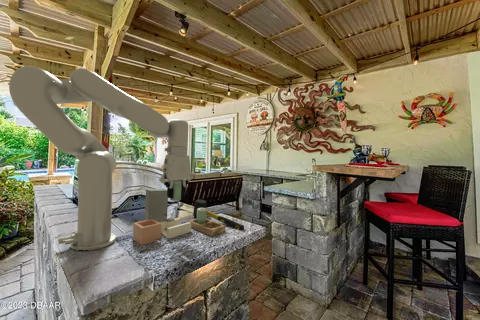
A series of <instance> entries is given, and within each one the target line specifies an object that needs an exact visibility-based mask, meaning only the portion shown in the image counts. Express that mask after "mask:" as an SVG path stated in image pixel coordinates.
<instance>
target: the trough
mask: <svg viewBox="0 0 480 320" xmlns="http://www.w3.org/2000/svg"><path fill="white" fill-rule="evenodd" d="M187 222H191V229H195V230H197V232H198V231H199V232H201V233H203V234H206V235H208V236H210V237H212V236H215V235H218V234H220V233H222V232H225V231H226V226H227V224H224V223H221V222H218V221H217V222H216V221H215V220H212V219H209V218H206V223H203V224H198V223H196V222H197V219H195V218H193V219H190V220H188V221H187Z"/></svg>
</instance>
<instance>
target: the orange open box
mask: <svg viewBox="0 0 480 320" xmlns="http://www.w3.org/2000/svg"><path fill="white" fill-rule="evenodd" d="M132 226H133V227H132V240H134V241H135V242H136V243H137V244H139V245H140V246H143V245H147V244H150V243H153V242H156V241H159V239H160V238H161V236H162V235H161V223H159V222H157V221H155V220H153V219H150V220H145V221H144V220H141V221H137V222H133V225H132Z"/></svg>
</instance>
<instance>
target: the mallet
mask: <svg viewBox="0 0 480 320" xmlns="http://www.w3.org/2000/svg"><path fill="white" fill-rule="evenodd" d="M207 203H208V202H207V201H206V200H205V199H196V200H195V202H194V205H193V213H192V217H193V216H194V218H193V219H197V209H198V208H205V209H206V216H209V217H211V218H213V219H215V220H217V222H219V223H221V224H223V225H226V226H228V227H231V228H234V229H236V230H238V231H239V230H240V231H243V230H244V229H245V225H244V224H241V223H239V222H236V221H234V220H231V219H229V218H228V217H225V216H222V215H219V214H216V213H214V212H212V211H209V210H207Z"/></svg>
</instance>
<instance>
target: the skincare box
mask: <svg viewBox="0 0 480 320" xmlns="http://www.w3.org/2000/svg"><path fill="white" fill-rule="evenodd" d="M144 198H145V201H144V218H143V219H144V220H143V221H145V220H150V219H153V220H155V221H157V222H163V221H165V219H168V204H169V198H168V196H167V188H166V189H165V188H146V189H145V197H144Z"/></svg>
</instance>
